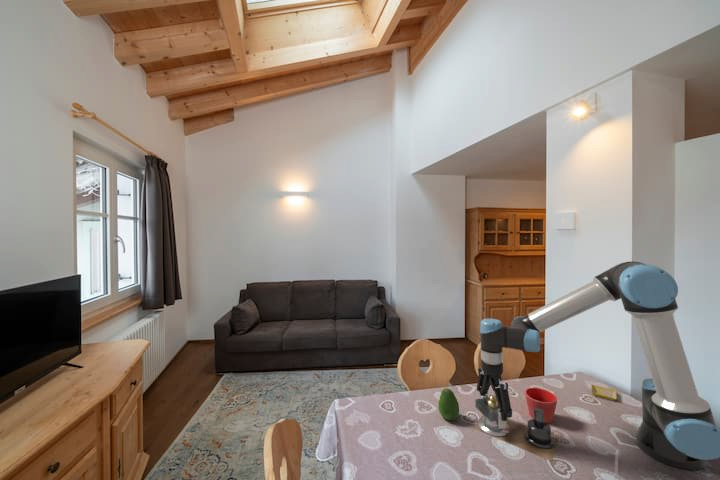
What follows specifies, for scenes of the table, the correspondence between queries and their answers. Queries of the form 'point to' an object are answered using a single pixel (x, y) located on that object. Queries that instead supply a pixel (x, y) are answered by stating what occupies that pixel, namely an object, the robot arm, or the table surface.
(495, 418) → the grey slotted housing
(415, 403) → the table surface
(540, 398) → the flower pot
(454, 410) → the fruit
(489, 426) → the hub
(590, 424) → the table surface
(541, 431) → the stand
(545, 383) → the table surface
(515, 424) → the board
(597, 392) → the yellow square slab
